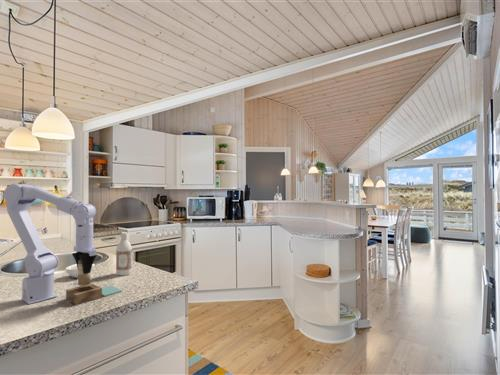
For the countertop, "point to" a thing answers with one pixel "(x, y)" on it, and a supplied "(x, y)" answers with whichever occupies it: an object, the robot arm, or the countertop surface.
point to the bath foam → (124, 256)
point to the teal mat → (110, 291)
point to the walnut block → (83, 293)
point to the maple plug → (82, 275)
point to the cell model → (74, 270)
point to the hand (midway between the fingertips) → (84, 272)
